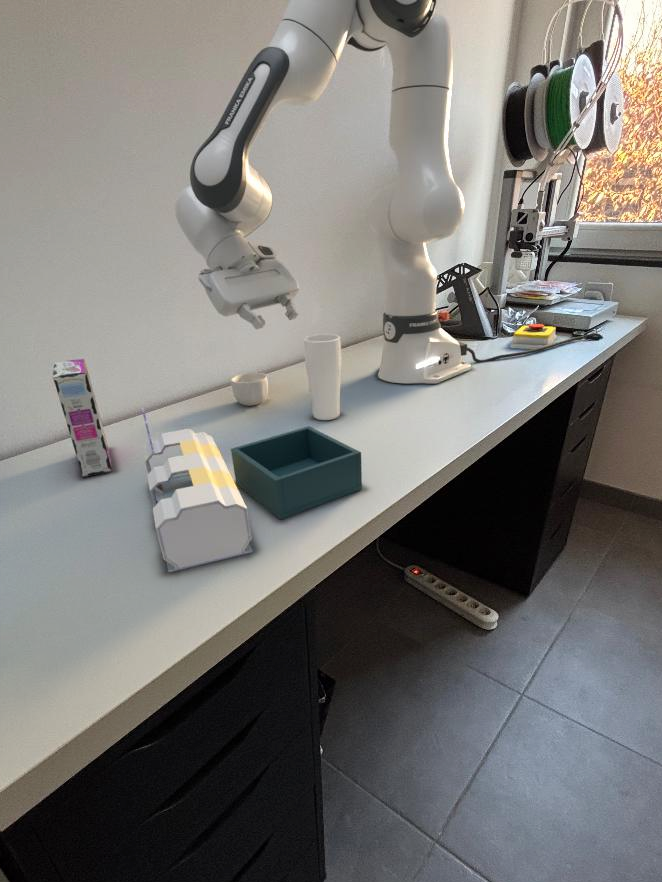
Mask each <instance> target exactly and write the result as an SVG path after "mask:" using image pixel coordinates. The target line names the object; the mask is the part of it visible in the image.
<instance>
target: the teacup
mask: <svg viewBox="0 0 662 882" xmlns="http://www.w3.org/2000/svg"><path fill="white" fill-rule="evenodd" d="M230 384H231V389H232V393H233V397H234V398H235V400H236V401H237V402H238V403H239V404H241V405H243V406H246V407H247V406H251V407H252V406H257V405H260V404H262V403H263V402H264V401H265V400H266V399H267V397H268V393H269V379H268V375H267V374H266V373H263V372H245V373H240V374H237V375H234V376H233V377H231V378H230Z"/></svg>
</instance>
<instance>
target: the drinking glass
mask: <svg viewBox="0 0 662 882" xmlns="http://www.w3.org/2000/svg"><path fill="white" fill-rule="evenodd" d="M341 341H342V340H341V336H340V335H338V334H334V333H319V334H311V335H308V336H306V337H305V338H303V349H304V362H305V370H306V375H307V381H308V387H309V394H310V401H311V408H312V409H311V410H312V416H313V418H314V419H315V420H318V421H331V420H335V419H337V418H339V417H340V415H341V381H342V380H341V379H342V343H341Z"/></svg>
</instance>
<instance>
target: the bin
mask: <svg viewBox="0 0 662 882" xmlns="http://www.w3.org/2000/svg"><path fill="white" fill-rule="evenodd" d="M230 453H231V459H232V467H233V473H234V479H235V485H236V486H238V487H239V488H240V489H242V490H243V491H244V492H246V494H248V495H249V496H250V497H251V498H253V499H254V500H255V501H257V502H258V503H259V504H260V505H261V506H262V507H264V508H265V509H266V510H267V511H269V512H270V513H271V514H273V515H274V516H275V517H276V518H277V519H279V520H281V521H282V520H283V519H286V518H288V517H289V518H290V517H292V516H294V515H297V514H300V513H302V512H305V511H307V510H308V511H309V510H310V509H313V508H316V507H318V506H321V505H324V504H326V503H329V502H331V501H334V500H337V499H340V498H342V497H345V496H347V495H350V494H353V493H355V492H359V491H361V490H362V489H363V477H362V475H363V473H362V452H361V451H360V450H357V449H356V448H354V447H351V446H350V445H347V444H345V443H343V442H341V441H339V440H338V439H335V438H334V437H331V436H329V435H328V434H325V433H324V432H322V431H319V430H318V429H316V428H314V427H312V426H309V425H308V426H305V427H300V428H298V429H294V430H291V431H287V432H284V433H281V434H276V435H273V436H270V437H266V438H263V439H260V440H255V441H253V442H249V443H246V444H241V445H239V446H235V447H232V448H230Z"/></svg>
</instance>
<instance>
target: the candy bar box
mask: <svg viewBox="0 0 662 882" xmlns="http://www.w3.org/2000/svg"><path fill="white" fill-rule="evenodd" d="M52 371H53V372H52V379H53V383H54V386H55V389H56V392H57V396H58V399H59V402H60V405H61V409H62V412H63V415H64V419H65V423H66V425H67V429H68V433H69V435H70V440H71V442H72V446H73V449H74V452H75V456H76V459H77V462H78V466H79V469H80V473H81V477H83V478H86V477H91V476H97V475H102V474H107V473H110V472H111V473H112V472H113V467H112V460H111V455H110V451H109V447H108V442H107V437H106V434H105V430H104V427H103V423H102V419H101V415H100V411H99V407H98V403H97V399H96V395H95V393H94V389H93V385H92V381H91V377H90V374H89V371H88V367H87V364H86V360H85V359H84V358H79V359H71V360H70V359H69V360H64V361H58V362H54V363H53V370H52Z"/></svg>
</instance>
